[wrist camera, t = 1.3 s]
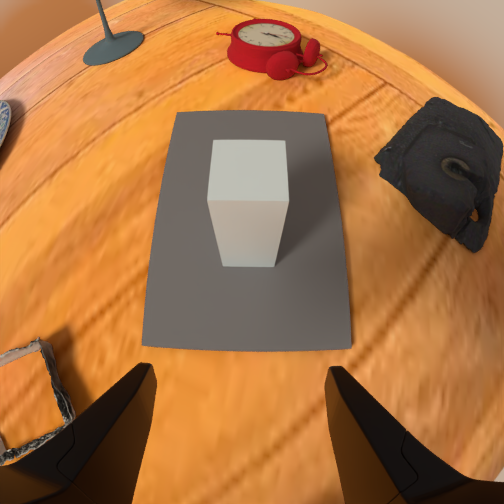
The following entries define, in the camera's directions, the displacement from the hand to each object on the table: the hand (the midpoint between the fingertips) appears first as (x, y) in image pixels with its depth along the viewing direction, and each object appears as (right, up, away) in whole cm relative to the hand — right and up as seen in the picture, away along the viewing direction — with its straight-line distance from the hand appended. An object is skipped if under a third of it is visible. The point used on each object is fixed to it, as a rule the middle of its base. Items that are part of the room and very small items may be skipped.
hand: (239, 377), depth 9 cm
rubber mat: (0, +8, +18) cm, 19 cm away
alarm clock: (+3, +30, +27) cm, 40 cm away
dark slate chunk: (+24, +15, +21) cm, 36 cm away
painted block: (0, +5, +16) cm, 16 cm away
